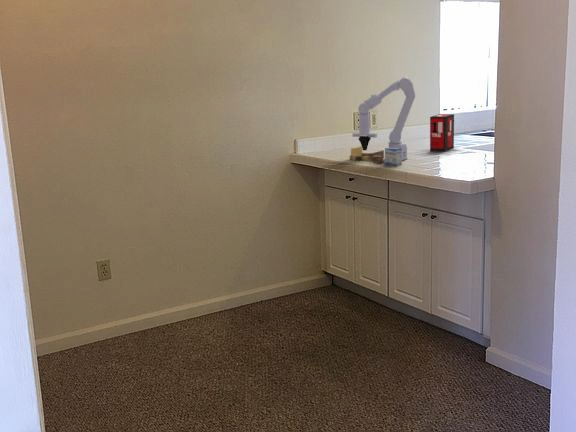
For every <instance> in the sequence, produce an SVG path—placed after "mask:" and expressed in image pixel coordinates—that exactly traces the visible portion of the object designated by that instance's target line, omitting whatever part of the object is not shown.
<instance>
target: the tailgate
mask: <svg viewBox="0 0 576 432" xmlns="http://www.w3.org/2000/svg"><path fill="white" fill-rule="evenodd" d="M362 153H363V149H362V145H361V146H355V147H352V148H350V155H351V156H362Z"/></svg>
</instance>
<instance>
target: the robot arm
mask: <svg viewBox="0 0 576 432" xmlns="http://www.w3.org/2000/svg"><path fill="white" fill-rule="evenodd" d="M400 90H402V92H403V93H404V95H405V99H404V102H403V104H402V108H401V109H400V111H399V114H398V117H397V120H396V122H395V125H394V127H393V129H392V130H391V131H390V133H389V136H388V138H389V141H388V148H401V149H402V161H404V160H407V159H408V147H407V146H408V145H407V144H405V143H403V141H402V140H401V138H402V132H403V129H404V126H405V123H406V121H407V119H408V116H409V113H410V112H411V111H410V110H411V108H412V106H413V103H414V101H415V98H416V93H415V89H414V85H413V82H412V81H411V79H410V78H409V77H402V78H401V79H400V80H397V81H394V82H392V84H390V85H389V86H388V87H386V88H385V89H384V90H382V91H381V92H380V93H374V94H371V95H370V97H369V98H368V99H365V100H363V102H362V103H360V104H359V106H358V109H357V110H358V112H359V113H358V115H359V116H358V132H353V133H352V137H353V138H354V137H355V138H357V139H358V141H359V143H360V145H361V146H362V151H367V150H368V146H369V143H370V140H371V139H372V138H378V133H373V132H371V130H370V129H371V128H370V126H371V125H370V110H373V109H374V108H376V107H377V106H379V105H380V104H382V102H383V101H382V99H384V98H385V97H387V96H388V95H390V94H391V93H393V92H394V91H400Z"/></svg>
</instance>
